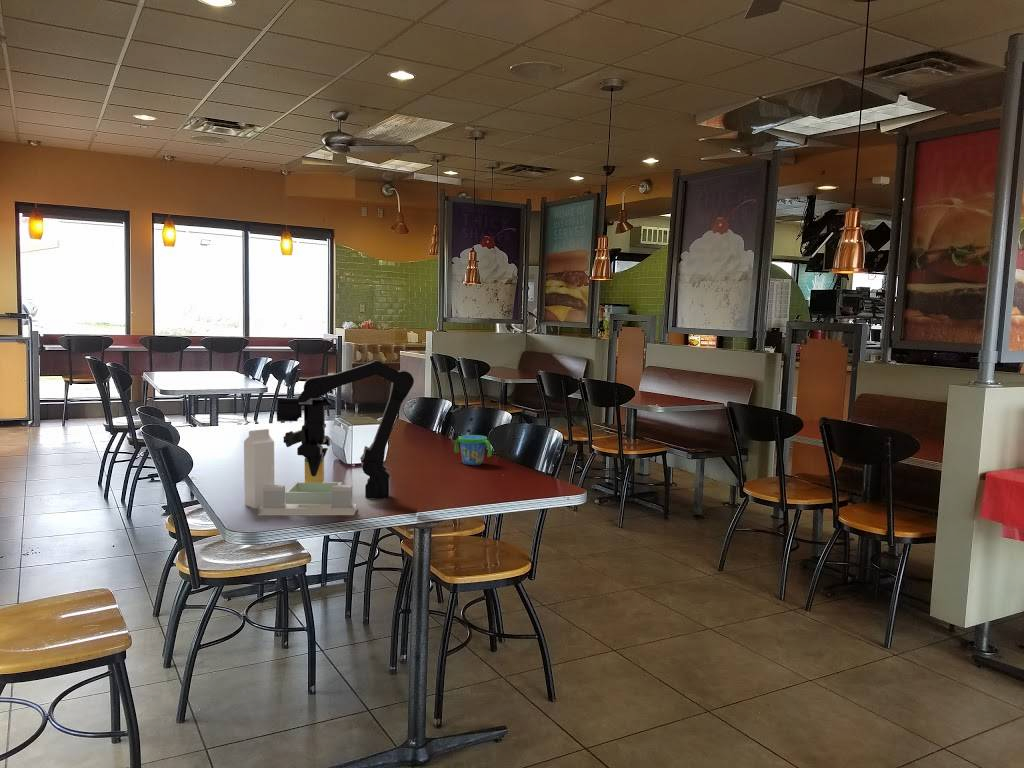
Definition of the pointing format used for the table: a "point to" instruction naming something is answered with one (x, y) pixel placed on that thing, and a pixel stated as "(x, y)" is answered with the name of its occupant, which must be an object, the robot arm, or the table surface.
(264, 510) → the fuse holder
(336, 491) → the block
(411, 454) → the table surface
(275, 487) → the block
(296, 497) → the green tray
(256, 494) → the milk
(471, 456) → the snack cup
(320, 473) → the block
